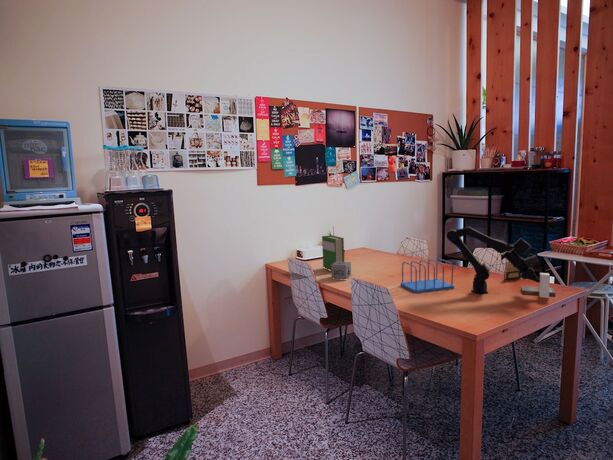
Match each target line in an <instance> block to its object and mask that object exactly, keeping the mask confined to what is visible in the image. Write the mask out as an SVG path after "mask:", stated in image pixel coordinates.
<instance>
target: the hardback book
mask: <svg viewBox="0 0 613 460" xmlns="http://www.w3.org/2000/svg"><path fill="white" fill-rule="evenodd" d="M321 239H322V241H321V243H322V244H321V245H322V246H321V247H322V268H323V267H325V268H327V269H330V270H331V264H333V263H335V262H336V261H338V262H345V246H344V245H345V243H344V237H341V236H336V235H324V236H321Z"/></svg>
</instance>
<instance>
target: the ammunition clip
mask: <svg viewBox="0 0 613 460" xmlns="http://www.w3.org/2000/svg"><path fill="white" fill-rule="evenodd" d="M504 267H505V268H504V273H503V276H504V277H503V280H505V281H510V280H520V279H519V278H522V277H521V273H520V272H519V271H518V270H517V269H516V268H514V267H513V265H512V264H511V263H510V262H509V261H508V260H506V261H505V265H504Z"/></svg>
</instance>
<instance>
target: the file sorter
mask: <svg viewBox="0 0 613 460" xmlns="http://www.w3.org/2000/svg"><path fill="white" fill-rule="evenodd" d="M439 260H440V261H442V262H444V263H449V264H450V265H451V281H450V282H451V283H448V282H445V280H444V279H445V268H444V264H443V263H442V262H440V261H439ZM431 261H432V262H435V265H434V264H433V263H431ZM422 262H423V263H426V264H427V268H426V266H425V265H424V264H423V263H422ZM413 263H415V264H418V267H419V269H418V268H417V267H416V265H414V264H413ZM405 264H407V265H410V281H406V282H404V265H405ZM438 264H440V265H441V266H442V279H438ZM430 265H431V266H432V267H433V278H431V279H430ZM421 266H422V267H423V268H424V279H423V280H422V279H421ZM435 266H436V267H435ZM413 267H414V270H415V280H414V281H413V280H412V279H413V275H412V273H413V271H412V270H413ZM417 269H418V270H417ZM426 269H427V270H426ZM418 271H419V274H418ZM417 276H418V277H419V278H418V277H417ZM426 276H427V277H426ZM453 278H454V265H453V262H450V261H448V260H446V259H442V258H437V259H436V260H433V259H428V261H425V260H422V259H421V260H420V261H419V262H417V261H415V260H412V261H411V262H407V261H403V262H402V263H401V282H400V286H401V287H403V288H405V289H407V290H409V291H411V292H412V291H413V293H414V294H417V293H418V294H419V292H420V293H426V292H436V291H442V290H443V291H446V290H452V289H455V285H453V284H454V283H453ZM418 279H419V280H418ZM445 289H446V290H445Z"/></svg>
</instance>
